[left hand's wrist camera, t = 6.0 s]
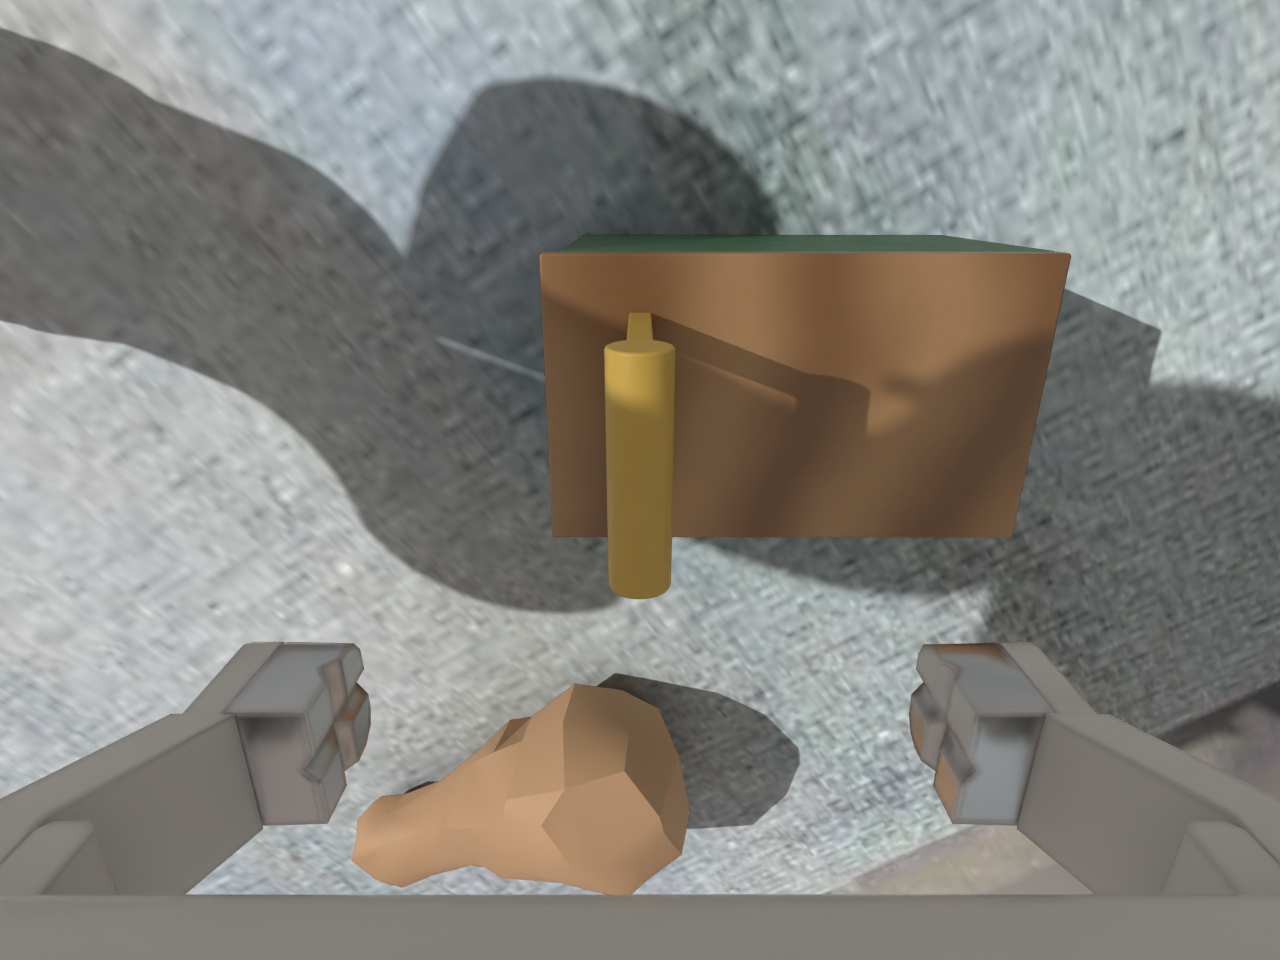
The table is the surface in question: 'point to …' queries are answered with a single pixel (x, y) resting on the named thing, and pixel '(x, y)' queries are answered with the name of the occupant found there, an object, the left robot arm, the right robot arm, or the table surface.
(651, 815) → the squash
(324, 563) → the table surface
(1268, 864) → the left robot arm
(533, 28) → the table surface
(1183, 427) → the table surface
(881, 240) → the chest
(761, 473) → the lid
